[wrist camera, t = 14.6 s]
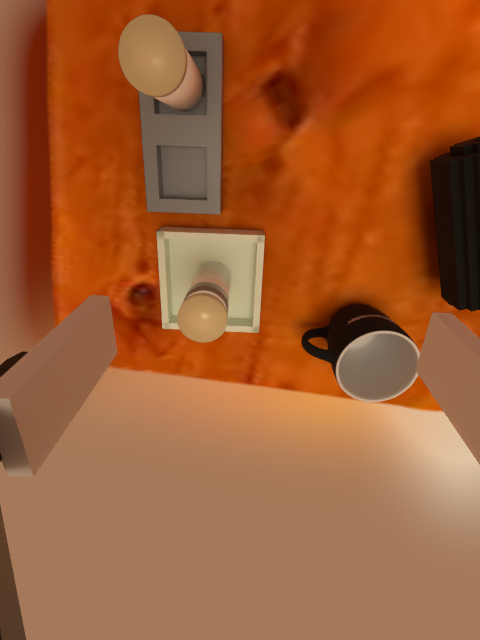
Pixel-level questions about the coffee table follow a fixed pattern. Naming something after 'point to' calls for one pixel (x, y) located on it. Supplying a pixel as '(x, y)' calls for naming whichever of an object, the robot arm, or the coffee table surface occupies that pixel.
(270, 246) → the coffee table surface
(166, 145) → the block
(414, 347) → the mug
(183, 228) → the parts tray
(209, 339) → the fuse
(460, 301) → the security camera
